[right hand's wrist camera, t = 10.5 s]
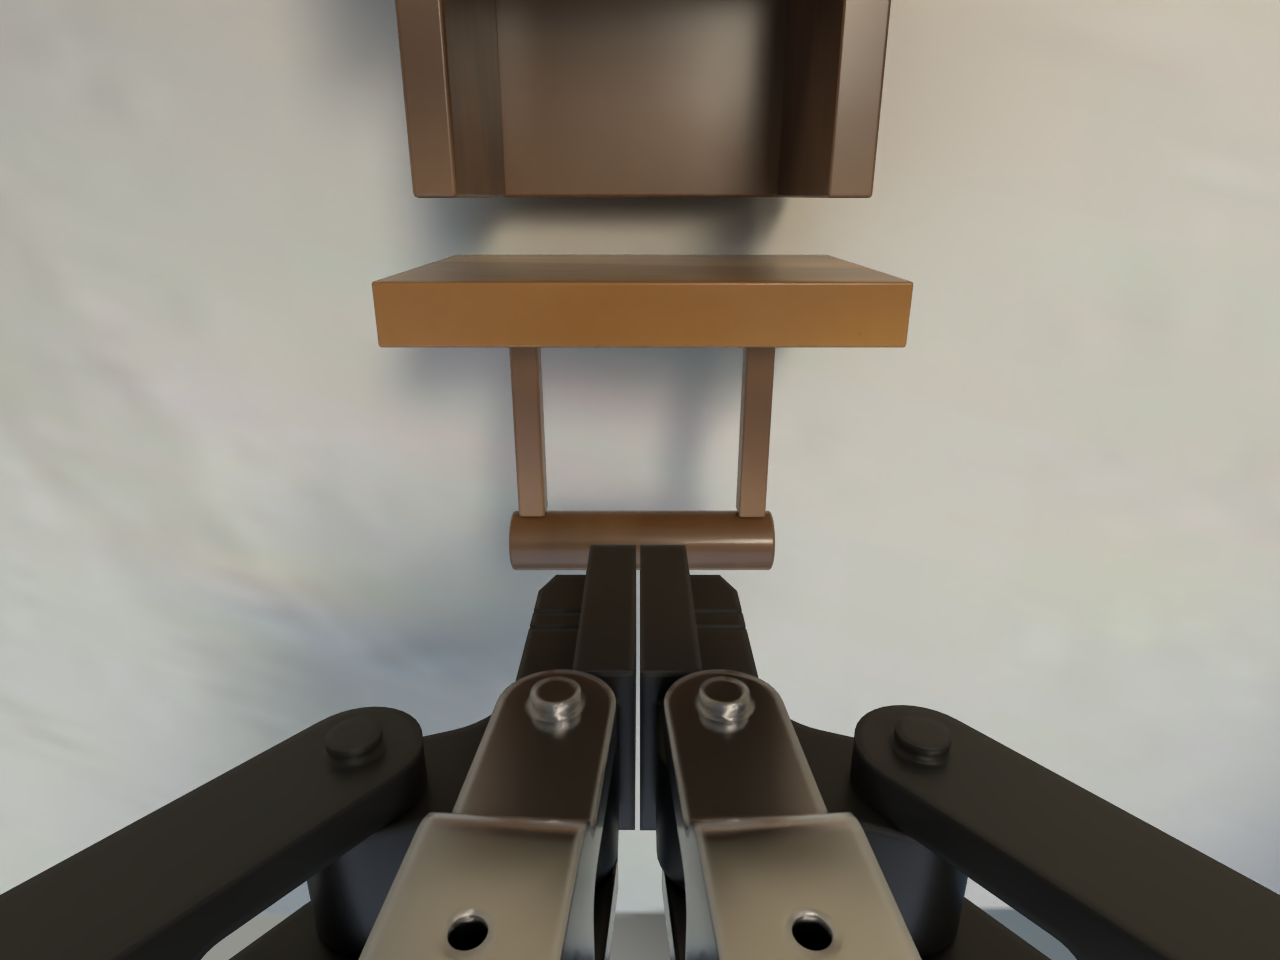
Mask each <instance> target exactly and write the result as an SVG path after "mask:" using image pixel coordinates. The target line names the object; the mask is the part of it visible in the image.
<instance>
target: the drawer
mask: <svg viewBox="0 0 1280 960" xmlns="http://www.w3.org/2000/svg"><path fill="white" fill-rule="evenodd" d="M395 5H396V16H397V26H398V37H399V47H400V58H401V69H402V79H403V90H404V100H405V111H406V122H407V132H408V143H409V153H410V164H411V175H412V185H413V193H414V196H415V197H418V198H473V197H805V198H869V197H871V196H872V191H873V181H874V170H875V160H876V150H877V139H878V129H879V119H880V109H881V98H882V88H883V78H884V67H885V57H886V47H887V36H888V26H889V16H890V5H891V0H395ZM372 290H373V299H374V307H375V316H376V325H377V333H378V342H379V346H380V347H509V350H510V367H511V384H512V402H513V419H514V436H515V453H516V471H517V488H518V505H519V511H515V512H513V515H512V517H511V522H510V531H509V553H510V561H511V565H512V568H513V569H515V570H587V564H588V557H589V550H590V545H591V544H636V570H640V545H686V551H687V559H688V566H689V570H769V569H771V568H772V565H773V561H774V553H775V531H774V523H773V518H772V515H771V513H770V512H769V511H765V507H766V491H767V474H768V458H769V441H770V425H771V408H772V391H773V375H774V358H775V347H905V346H906V341H907V333H908V324H909V316H910V307H911V299H912V290H913V282H911V281H908V280H904V279H901V278H898V277H895V276H892V275H889V274H885V273H882V272H879V271H876V270H873V269H870V268H867V267H863V266H860V265H857V264H854V263H851V262H848V261H845V260H841V259H838V258H835V257H832V256H829V255H455V256H451V257H448V258H445V259H442V260H439V261H436V262H433V263H430V264H427V265H424V266H420V267H417V268H414V269H411V270H408V271H405V272H402V273H399V274H396V275H393V276H390V277H386V278H383V279H380V280H377V281H374V282H372ZM541 347H744V348H743V370H742V391H741V413H740V435H739V456H738V478H737V499H736V508H737V511H546V510H547V507H548V505H547V482H546V459H545V437H544V414H543V391H542V369H541Z"/></svg>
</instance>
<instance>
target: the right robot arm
mask: <svg viewBox="0 0 1280 960" xmlns="http://www.w3.org/2000/svg"><path fill="white" fill-rule="evenodd" d="M635 748H636V544H591V545H590V550H589V557H588V564H587V571H586V575H556V576H555V577H554V578H552V579H551V580H550V581H549V582H548V583H547V584H546V585H545V586H544V587H543V588H542V589H540V590H539V592H538V596H537V600H536V604H535V608H534V613H533V616H532V620H531V624H530V629H529V631H528V635H527V639H526V643H525V647H524V651H523V655H522V659H521V663H520V666H519V670H518V674H517V678H516V682H514V683H512V684H511V685H510V686H509V687H507V688H506V689H505V690H504V691H503V693H502V694H501V695H500V697H499V699H498V701H497V703H496V705H495V708H494V710H493V713H492V715H490V716H488V717H487V718H485V719H483V720H481V721H479V722H477V723H474V724H472V725H469V726H466V727H463V728H459V729H456V730H452V731H447V732H442V733H438V734H433V735H429V736H424V737H423V735H422V730H421V727H420V725H419V723H418V722H417V721H416V719H414V718H413V717H412V716H411V715H409V714H407V713H405V712H403V711H400V710H397V709H393V708H387V707H364V708H358V709H352V710H348V711H345V712H341V713H338V714H336V715H333V716H330V717H328V718H326V719H324V720H322V721H320V722H318V723H316V724H314V725H312V726H311V727H309V728H307V729H305V730H303V731H301V732H299V733H298V734H296V735H294V736H292V737H290V738H288V739H287V740H285V741H283V742H281V743H279V744H277V745H276V746H274V747H272V748H270V749H268V750H266V751H265V752H263V753H261V754H259V755H257V756H255V757H253V758H252V759H250V760H248V761H246V762H244V763H242V764H241V765H239V766H237V767H235V768H233V769H231V770H230V771H228V772H226V773H224V774H222V775H220V776H218V777H217V778H215V779H213V780H211V781H209V782H207V783H206V784H204V785H202V786H200V787H198V788H196V789H195V790H193V791H191V792H189V793H187V794H185V795H184V796H182V797H180V798H178V799H176V800H174V801H172V802H171V803H169V804H167V805H165V806H163V807H161V808H160V809H158V810H156V811H154V812H152V813H150V814H149V815H147V816H145V817H143V818H141V819H139V820H137V821H136V822H134V823H132V824H130V825H128V826H126V827H125V828H123V829H121V830H119V831H117V832H115V833H114V834H112V835H110V836H108V837H106V838H104V839H103V840H101V841H99V842H97V843H95V844H93V845H91V846H90V847H88V848H86V849H84V850H82V851H80V852H79V853H77V854H75V855H73V856H71V857H69V858H68V859H66V860H64V861H62V862H60V863H58V864H56V865H55V866H53V867H51V868H49V869H47V870H45V871H44V872H42V873H40V874H38V875H36V876H34V877H33V878H31V879H29V880H27V881H25V882H23V883H22V884H20V885H18V886H16V887H14V888H12V889H10V890H9V891H7V892H5V893H3V894H1V895H0V960H201V959H202V957H203V956H204V955H205V954H206V953H207V952H208V951H209V950H210V949H211V948H212V947H213V946H214V945H216V944H217V943H218V942H220V941H221V940H222V939H224V938H225V937H226V936H228V935H229V934H231V933H232V932H234V931H235V930H237V929H238V928H239V927H241V926H242V925H244V924H245V923H247V922H248V921H249V920H251V919H252V918H254V917H255V916H257V915H258V914H259V913H261V912H262V911H264V910H265V909H267V908H268V907H269V906H271V905H272V904H274V903H275V902H277V901H278V900H280V899H281V898H282V897H284V896H285V895H287V894H288V893H290V892H291V891H292V890H294V889H295V888H297V887H298V886H300V885H301V884H302V883H304V882H305V881H307V884H308V889H309V894H310V899H311V901H310V902H308V903H307V904H305V905H304V906H303V907H301V908H300V909H298V910H297V911H296V912H294V913H293V914H292V915H290V916H289V917H287V918H286V919H285V920H283V921H282V922H281V923H279V924H278V925H276V926H275V927H273V928H272V929H271V930H269V931H268V932H267V933H265V934H264V935H262V936H261V937H260V938H258V939H257V940H256V941H254V942H253V943H251V944H250V945H249V946H247V947H246V948H244V949H243V950H242V951H240V952H239V953H238V954H236V955H235V956H233V957H232V958H231V959H229V960H609V958H610V950H611V942H612V934H613V925H614V917H615V909H616V901H617V893H618V830H635ZM640 830H656V842H657V856H658V860H659V863H660V866H661V868H662V893H663V901H664V909H665V917H666V925H667V933H668V942H669V950H670V958H671V960H1051V959H1049V958H1048V957H1047V956H1045V955H1044V954H1043V953H1041V952H1040V951H1038V950H1037V949H1035V948H1034V947H1033V946H1031V945H1030V944H1029V943H1027V942H1026V941H1024V940H1023V939H1022V938H1020V937H1019V936H1018V935H1016V934H1015V933H1013V932H1012V931H1011V930H1009V929H1008V928H1006V927H1005V926H1004V925H1002V924H1001V923H1000V922H998V921H997V920H995V919H994V918H992V917H991V916H990V915H988V914H987V913H986V912H984V911H983V910H982V909H980V908H979V907H977V906H976V905H975V904H973V903H972V902H970V901H969V900H968V899H966V898H965V897H964V894H965V889H966V884H967V879H968V877H969V878H970V879H972V880H973V881H975V882H976V883H978V884H979V885H980V886H982V887H983V888H985V889H986V890H988V891H989V892H990V893H992V894H993V895H995V896H996V897H998V898H999V899H1000V900H1002V901H1003V902H1005V903H1006V904H1008V905H1009V906H1010V907H1012V908H1013V909H1015V910H1016V911H1018V912H1019V913H1021V914H1022V915H1023V916H1025V917H1026V918H1028V919H1029V920H1031V921H1032V922H1033V923H1035V924H1036V925H1038V926H1039V927H1041V928H1042V929H1043V930H1045V931H1046V932H1048V933H1049V934H1051V935H1052V936H1053V937H1055V938H1056V939H1057V940H1059V941H1060V942H1061V943H1062V944H1063V945H1064V946H1066V947H1067V948H1068V949H1069V950H1070V952H1071V953H1072V954H1073V955H1074V956H1075V957H1076V959H1077V960H1280V895H1279V894H1277V893H1275V892H1273V891H1271V890H1270V889H1268V888H1266V887H1264V886H1262V885H1260V884H1258V883H1257V882H1255V881H1253V880H1251V879H1249V878H1247V877H1246V876H1244V875H1242V874H1240V873H1238V872H1236V871H1235V870H1233V869H1231V868H1229V867H1227V866H1225V865H1223V864H1222V863H1220V862H1218V861H1216V860H1214V859H1212V858H1211V857H1209V856H1207V855H1205V854H1203V853H1201V852H1200V851H1198V850H1196V849H1194V848H1192V847H1190V846H1189V845H1187V844H1185V843H1183V842H1181V841H1179V840H1177V839H1176V838H1174V837H1172V836H1170V835H1168V834H1166V833H1165V832H1163V831H1161V830H1159V829H1157V828H1155V827H1154V826H1152V825H1150V824H1148V823H1146V822H1144V821H1142V820H1141V819H1139V818H1137V817H1135V816H1133V815H1131V814H1130V813H1128V812H1126V811H1124V810H1122V809H1120V808H1119V807H1117V806H1115V805H1113V804H1111V803H1109V802H1108V801H1106V800H1104V799H1102V798H1100V797H1098V796H1096V795H1095V794H1093V793H1091V792H1089V791H1087V790H1085V789H1084V788H1082V787H1080V786H1078V785H1076V784H1074V783H1073V782H1071V781H1069V780H1067V779H1065V778H1063V777H1061V776H1060V775H1058V774H1056V773H1054V772H1052V771H1050V770H1049V769H1047V768H1045V767H1043V766H1041V765H1039V764H1038V763H1036V762H1034V761H1032V760H1030V759H1028V758H1027V757H1025V756H1023V755H1021V754H1019V753H1017V752H1015V751H1014V750H1012V749H1010V748H1008V747H1006V746H1004V745H1003V744H1001V743H999V742H997V741H995V740H993V739H992V738H990V737H988V736H986V735H984V734H982V733H980V732H979V731H977V730H975V729H973V728H971V727H969V726H968V725H966V724H964V723H962V722H960V721H958V720H957V719H954V718H952V717H950V716H948V715H946V714H943V713H940V712H938V711H935V710H931V709H927V708H923V707H917V706H907V705H893V706H886V707H881V708H878V709H875V710H873V711H871V712H869V713H867V714H866V715H864V716H863V717H862V718H861V719H860V721H859V722H858V723H857V726H856V728H855V735H854V737H849V736H844V735H840V734H835V733H831V732H826V731H821V730H818V729H814V728H810V727H807V726H805V725H802V724H799V723H797V722H795V721H793V720H791V719H790V718H789V715H788V713H787V710H786V708H785V705H784V703H783V701H782V699H781V697H780V695H779V694H778V693H777V691H776V690H775V689H774V688H773V687H771V686H770V685H769V684H768V683H766V682H764V681H763V680H761V679H759V678H758V675H757V671H756V666H755V662H754V658H753V654H752V650H751V646H750V642H749V638H748V634H747V630H746V629H745V622H744V618H743V614H742V610H741V605H740V601H739V597H738V593H737V591H736V590H735V589H734V588H733V587H732V586H731V585H730V584H729V583H728V582H727V581H726V580H724V579H723V578H722V577H721V576H720V575H690V574H689V566H688V559H687V551H686V545H640Z"/></svg>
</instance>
